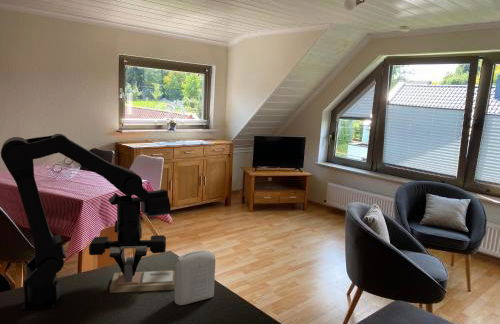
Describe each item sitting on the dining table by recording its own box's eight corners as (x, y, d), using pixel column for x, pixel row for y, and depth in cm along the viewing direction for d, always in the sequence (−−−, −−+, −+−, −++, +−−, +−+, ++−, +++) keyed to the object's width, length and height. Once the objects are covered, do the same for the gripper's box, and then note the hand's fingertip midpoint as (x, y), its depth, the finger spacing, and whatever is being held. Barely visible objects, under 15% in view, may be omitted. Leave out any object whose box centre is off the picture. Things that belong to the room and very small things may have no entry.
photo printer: (208, 289, 100) (210, 245, 98) (216, 297, 96) (218, 251, 94) (171, 299, 94) (172, 252, 92) (178, 308, 91) (179, 259, 88)
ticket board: (109, 292, 96) (109, 285, 96) (114, 277, 104) (114, 271, 103) (174, 289, 99) (174, 282, 99) (174, 275, 107) (174, 268, 106)
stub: (117, 284, 97) (117, 266, 96) (120, 273, 103) (120, 256, 102) (138, 283, 98) (138, 265, 97) (140, 273, 104) (140, 256, 103)
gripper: (166, 209, 107) (166, 261, 110) (96, 210, 103) (98, 263, 106) (165, 222, 96) (165, 279, 99) (87, 223, 93) (89, 282, 95)
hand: (129, 275), depth 100 cm, fingers closed on stub, 2 cm apart
